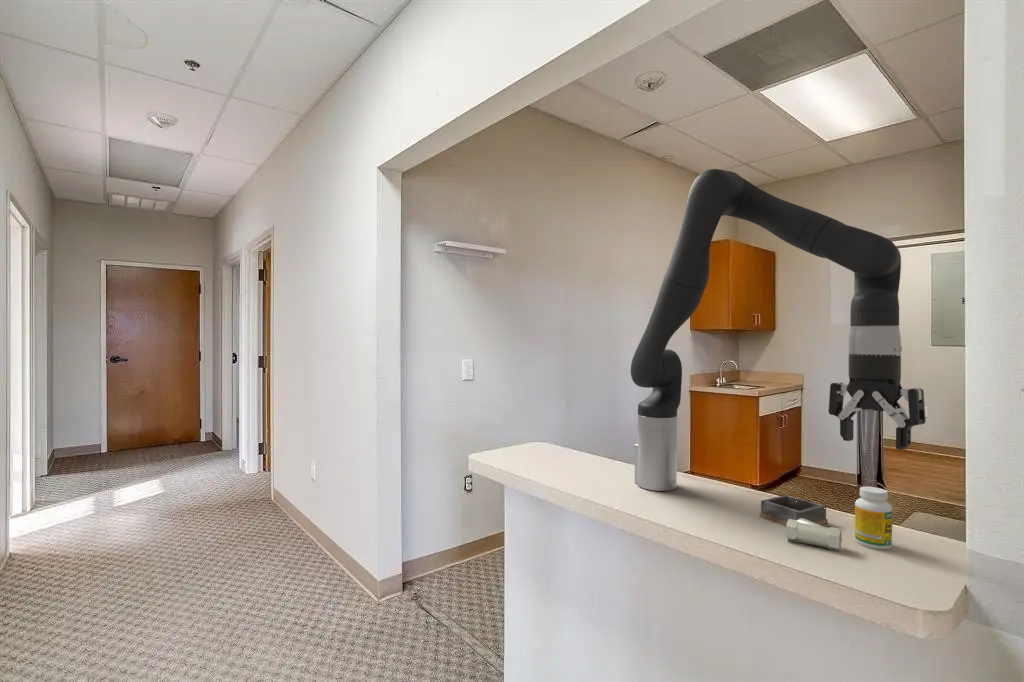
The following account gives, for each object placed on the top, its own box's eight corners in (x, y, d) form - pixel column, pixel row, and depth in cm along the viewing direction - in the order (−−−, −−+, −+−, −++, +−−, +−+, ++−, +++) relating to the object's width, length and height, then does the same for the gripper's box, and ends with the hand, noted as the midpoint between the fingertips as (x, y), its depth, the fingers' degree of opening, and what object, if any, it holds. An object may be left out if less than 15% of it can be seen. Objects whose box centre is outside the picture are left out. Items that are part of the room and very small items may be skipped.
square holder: (759, 516, 104) (759, 500, 104) (785, 510, 108) (785, 494, 108) (800, 530, 96) (801, 513, 96) (827, 523, 100) (827, 506, 100)
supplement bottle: (857, 535, 94) (857, 483, 94) (893, 543, 90) (893, 489, 90) (852, 544, 90) (852, 489, 90) (890, 553, 86) (890, 496, 86)
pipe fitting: (792, 534, 96) (785, 543, 91) (793, 513, 96) (786, 520, 91) (843, 545, 91) (839, 554, 86) (843, 522, 91) (839, 531, 86)
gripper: (820, 351, 94) (820, 439, 94) (910, 353, 82) (910, 455, 82) (843, 351, 98) (843, 436, 98) (933, 353, 86) (933, 450, 86)
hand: (873, 444), depth 90 cm, fingers open, 8 cm apart
